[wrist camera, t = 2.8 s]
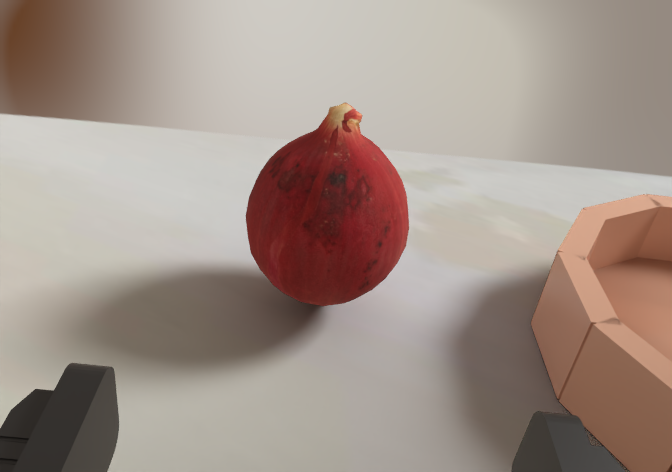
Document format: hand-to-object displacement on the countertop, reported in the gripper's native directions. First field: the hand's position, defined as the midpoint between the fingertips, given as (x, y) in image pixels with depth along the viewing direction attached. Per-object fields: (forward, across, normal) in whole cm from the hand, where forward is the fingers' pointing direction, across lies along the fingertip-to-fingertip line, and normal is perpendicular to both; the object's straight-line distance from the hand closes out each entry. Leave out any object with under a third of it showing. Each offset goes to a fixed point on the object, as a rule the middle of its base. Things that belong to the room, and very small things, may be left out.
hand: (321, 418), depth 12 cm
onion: (+11, 0, +6) cm, 13 cm away
